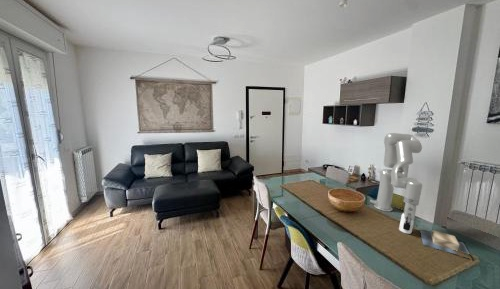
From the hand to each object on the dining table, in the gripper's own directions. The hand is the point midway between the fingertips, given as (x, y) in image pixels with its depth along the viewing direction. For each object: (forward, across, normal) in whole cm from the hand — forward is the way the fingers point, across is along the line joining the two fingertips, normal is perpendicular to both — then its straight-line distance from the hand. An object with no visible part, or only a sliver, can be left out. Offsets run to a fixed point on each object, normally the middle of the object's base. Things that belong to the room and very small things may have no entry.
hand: (405, 226), depth 131 cm
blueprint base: (+3, -2, -18) cm, 18 cm away
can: (+3, 0, 0) cm, 3 cm away
